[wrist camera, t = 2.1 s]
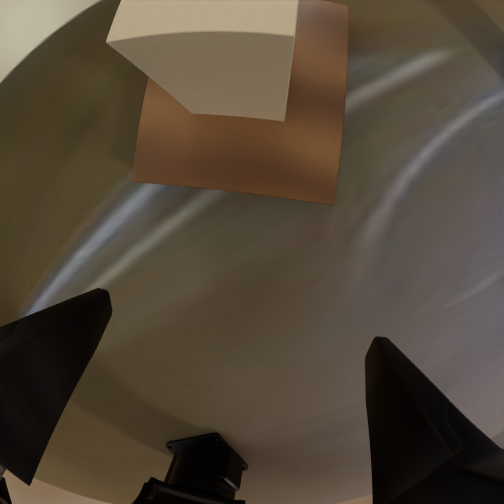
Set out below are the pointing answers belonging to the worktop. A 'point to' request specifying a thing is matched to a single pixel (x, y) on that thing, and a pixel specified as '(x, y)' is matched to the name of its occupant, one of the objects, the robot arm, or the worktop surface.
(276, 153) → the wooden base plate
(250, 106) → the cream box
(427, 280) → the worktop surface
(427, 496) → the robot arm
